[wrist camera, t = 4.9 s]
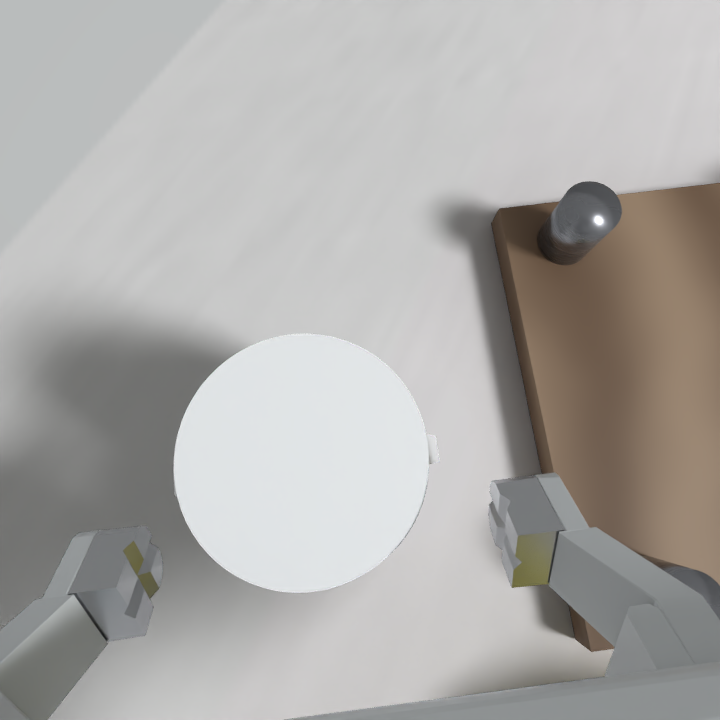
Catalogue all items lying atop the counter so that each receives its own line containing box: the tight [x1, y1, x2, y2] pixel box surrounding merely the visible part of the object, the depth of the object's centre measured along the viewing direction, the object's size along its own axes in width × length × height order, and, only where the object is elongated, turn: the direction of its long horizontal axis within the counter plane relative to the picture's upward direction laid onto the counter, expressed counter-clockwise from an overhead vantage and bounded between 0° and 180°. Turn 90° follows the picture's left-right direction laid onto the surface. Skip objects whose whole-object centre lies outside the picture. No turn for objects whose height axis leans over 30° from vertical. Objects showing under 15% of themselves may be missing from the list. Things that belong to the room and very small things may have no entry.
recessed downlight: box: [173, 334, 440, 593], centre depth 14 cm, size 8×7×10 cm
